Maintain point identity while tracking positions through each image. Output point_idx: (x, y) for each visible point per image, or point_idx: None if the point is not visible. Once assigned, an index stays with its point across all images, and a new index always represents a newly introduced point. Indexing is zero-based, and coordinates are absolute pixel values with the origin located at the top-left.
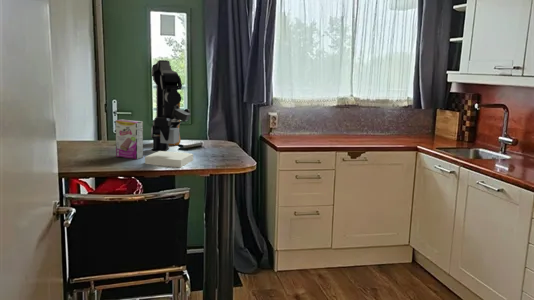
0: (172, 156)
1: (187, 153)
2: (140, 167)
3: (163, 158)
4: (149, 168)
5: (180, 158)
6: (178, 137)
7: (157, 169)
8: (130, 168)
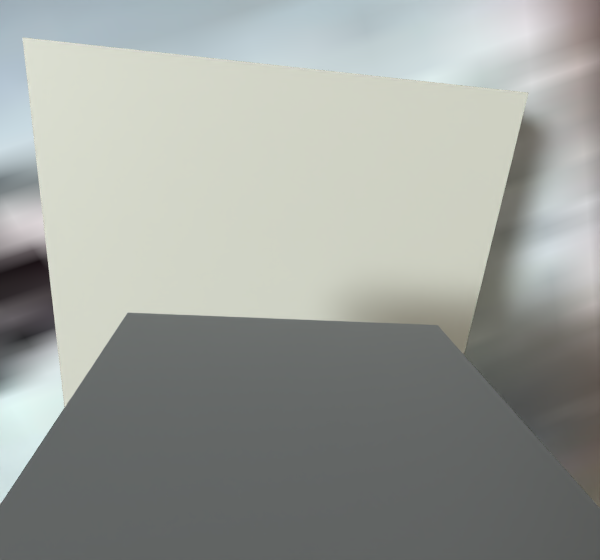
0: (332, 274)
1: (49, 143)
2: (534, 434)
3: (469, 328)
4: (562, 362)
5: (428, 133)
6: (160, 370)
7: (594, 289)
8: (573, 478)
